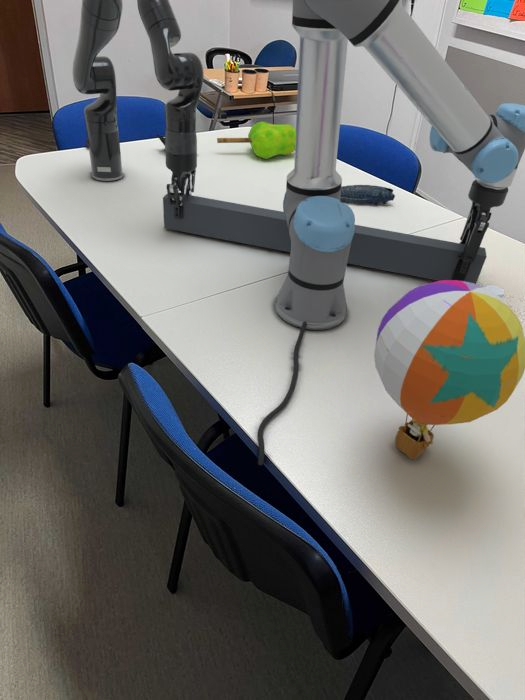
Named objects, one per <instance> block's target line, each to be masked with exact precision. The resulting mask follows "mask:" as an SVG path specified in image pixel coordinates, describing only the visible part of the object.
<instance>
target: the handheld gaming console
mask: <svg viewBox="0 0 525 700" xmlns="http://www.w3.org/2000/svg"><path fill="white" fill-rule="evenodd" d="M156 136H157V138H158V139H159V141H160V142H161V143H162V144H163V146H165V136H162V135H160V134H158V133H157V134H156Z"/></svg>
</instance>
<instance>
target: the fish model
mask: <svg viewBox="0 0 525 700" xmlns="http://www.w3.org/2000/svg"><path fill="white" fill-rule="evenodd" d="M395 197H396V195H395V194H394V189H393V188H389V187H387V186H386V187H385V186H381V185H380V186H379V185H371V184H352V185H341V196H340V201H341V202H346V203H356V204H369V205H373V206H374V205H375V206H376V205H378V204H381V203H382V204H383V205H386V204H387V203H388V202H390V201H392V202H393V201H394V200H395Z"/></svg>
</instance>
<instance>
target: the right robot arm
mask: <svg viewBox="0 0 525 700" xmlns="http://www.w3.org/2000/svg"><path fill="white" fill-rule="evenodd" d="M291 12H292V14H291V15H292V17H291V27H292V28H293V29H294V31H295V32H296V33H297V34H298V36H299V51H298V52H299V53H298V74H297V75H298V77H297V96H296V97H297V98H296V120H295V130H296V141H295V151H294V163H293V164H294V165H293V166H294V167H293V169H291V171H290V172H289V173H288V174H286V186H285V187H286V189H285V193H284V197H283V199H282V210H283V211H282V212H284V215H285V218H286V221H287V225H288V229H289V234H290V239H291V252H289V253H290V255H289V262H288V263H289V264H288V270H287V271H288V272H287V275H286V278H285V279H284V282H283V283H282V285H281V287H280V290H279V291H278V294H277V296H276V300H275V311H276V313H277V315H278V316H279V317H280V318H281V319H282V320H283V321H284V322H286V323H287V324H289V325H291V326H293V327H296V328H300V331H299V333H298V337H297V340H296V342H295V345H294V350H293V371H292V376H291V380H290V381H291V382H290V384H289V388H288V390H287V393H286V394H285V397H284V399H283V400H282V401H281V402H280V404H279V405H278V406H277V407H276V408H275V409H273V410H272V411H271V412H270V413H268V414H267V415H266V416H265V417H264V419H263V420H262V421H261V422H260V425H259V426H258V429H257V445H258V457H257V464H258V466H263V465H264V460H265V451H266V450H265V441H264V440H265V439H264V431H265V430H266V429H265V428H266V427H267V425H268V424H269V422H270V421H271V420H272V419H273V418H274V417H275V416H277V415H278V414H279V413H281V411H283V409H285V408H286V406H287V405H288V403H289V402H290V401H291V398H292V396H293V394H294V391H295V388H296V385H297V380H298V376H299V354H300V348H301V344H302V342H303V339H304V335H305V332H306V330H310V331H324V330H325V331H326V330H329V329H333V328H336V327H337V326H339V325H340V324H342V323H343V322H344V320H345V318H346V315H347V310H348V305H347V297H346V292H345V286H344V280H345V275H346V271H347V267H348V263H347V261H348V257H349V252H350V247H351V242H352V238H353V236H354V230H355V225H356V217H355V212H354V211H353V209H352V208H351V207H350V205H348V204H347V202H346V203H345V202H342V201H341V200H340V196H341V187H342V186H343V185H342V184H343V177H342V176H341V174H339V172H338V171H337V161H338V160H337V159H338V149H339V139H340V138H339V137H340V128H341V116H342V105H343V97H344V95H343V94H344V86H345V77H346V76H345V74H346V65H347V64H346V63H347V53H348V45H349V44H348V42H349V43H351V45H352V47H355V48H360V47H362V48H364V49H365V50H366V51H367V53H369V55H370V56H371V57H372V58H373V59H374V61H375V62H376V63H377V64H378V65H379V67H380V68H381V69H382V70H383V71H384V72H385V73H386V75H387V76H388V77H389V78H390V79H391V80H392V82H394V84H395V85H396V86H397V87H398V88H399V90H401V92H402V93H403V94H404V95H405V96H406V98H407V99H408V100H409V101H410V102H411V104H412V105H414V107H415V108H416V109H417V110H418V112H419V113H420V114H421V115H422V116H423V118H425V120H426V121H427V122H428V123H429V125H431V127H430V130H429V145H430V148H431V150H432V151H434V152H438V153H443V154H452V155H453V156H454V157H455V158H456V159H457V160H458V161H459V162H461V163H462V164H463V165H464V166H465V167H466V168H467V169H468V170H469V171H470V172H471V173H472V174H473V176H474V179H475V180H473V181H472V182H471V186H470V189H469V192H468V195H467V196H468V200H470V201H471V202H472V203H471V207H470V210H469V212H468V215H467V218H466V221H465V224H464V227H463V231H462V233H461V235H460V237H459V241H460V242H459V243H460V244H465V247H464V250H463V253H462V255H461V256H459V255H458V259H459V261H458V263H457V266H456V269H455V271H454V274H453V277H452V280H459V281H464V280H465V277H466V275H467V272H468V270H469V267H470V264H471V262H474V261H475V258H476V255H477V252H478V250H479V247H481V245H482V242H483V239H484V237H485V234H486V232H487V230H488V228H489V226H490V222H489V221H490V219H491V218H492V212H491V210H492V208H497V207H501V206H502V205H503V204H504V202H505V201H506V197H507V195H508V193H509V187H511V185H512V183H513V181H514V179H515V176H516V173H517V171H518V168H519V164H520V161H521V159H522V158H523V154H524V152H525V104H520V103H511V102H510V103H509V102H508V103H502V104H500V105H499V107H498V108H497V110H496V112H495V114H487V113H486V112H485V110H484V109H483V107H482V106H481V105H480V104H479V102H478V101H477V100H476V99H475V98H474V96H473V95H472V93H471V92H470V91H469V90H468V88H467V87H466V86H465V85H464V83H463V82H462V81H461V80H460V78H459V77H458V75H457V74H456V73H455V71H454V70H453V69H452V68H451V66H450V65H449V64H448V62H447V61H446V60H445V58H444V57H443V56H442V55H441V53H440V52H439V51H438V50H437V48H436V47H435V46H434V45H433V43H432V41H431V40H430V39H429V38H428V36H426V34H425V33H424V32H423V30H422V29H421V28H420V26H419V25H418V24H417V23H416V21H415V20H414V19H413V18H412V16H411V15H410V14H409V12H408V11H407V9H406V8H405V7H404V5H403V0H292V11H291Z"/></svg>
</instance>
